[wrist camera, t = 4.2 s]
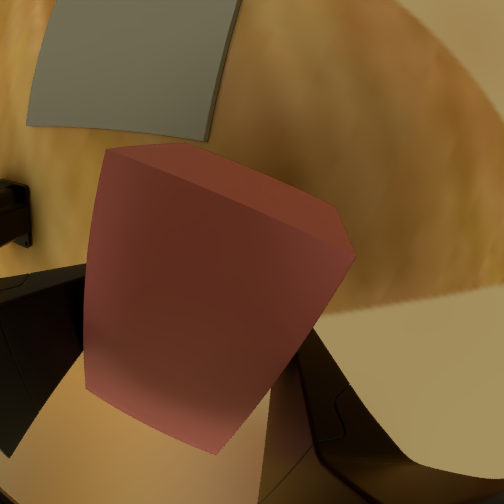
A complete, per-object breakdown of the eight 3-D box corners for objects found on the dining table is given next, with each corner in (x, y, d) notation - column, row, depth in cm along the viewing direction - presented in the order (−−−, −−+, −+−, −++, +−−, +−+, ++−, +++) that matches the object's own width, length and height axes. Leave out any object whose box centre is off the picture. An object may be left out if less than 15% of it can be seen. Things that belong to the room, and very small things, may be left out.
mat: (32, 125, 19) (25, 126, 18) (66, -9, 13) (60, -11, 13) (207, 141, 17) (203, 141, 16) (253, -38, 12) (251, -44, 11)
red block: (135, 328, 12) (85, 388, 8) (185, 142, 9) (106, 148, 5) (240, 378, 12) (216, 455, 8) (335, 206, 8) (356, 256, 5)
